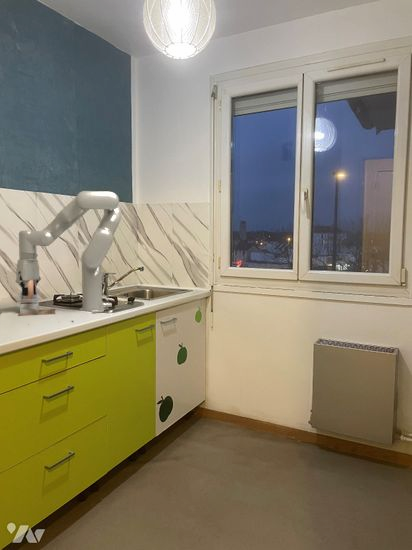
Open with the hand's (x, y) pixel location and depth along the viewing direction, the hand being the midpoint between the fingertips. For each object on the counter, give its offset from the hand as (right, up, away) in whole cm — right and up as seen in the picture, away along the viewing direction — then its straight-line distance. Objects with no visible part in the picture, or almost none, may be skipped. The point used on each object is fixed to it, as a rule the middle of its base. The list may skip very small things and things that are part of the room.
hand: (29, 294), depth 195 cm
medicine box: (-6, -8, +15) cm, 18 cm away
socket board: (+4, -10, -1) cm, 11 cm away
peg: (0, -2, 0) cm, 2 cm away
